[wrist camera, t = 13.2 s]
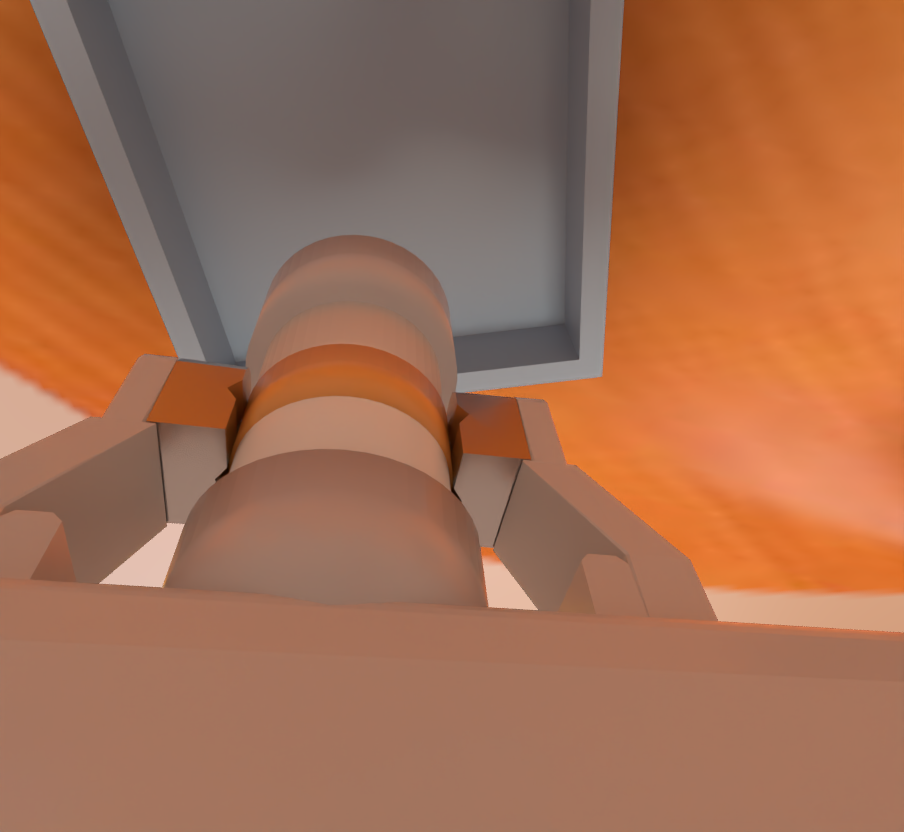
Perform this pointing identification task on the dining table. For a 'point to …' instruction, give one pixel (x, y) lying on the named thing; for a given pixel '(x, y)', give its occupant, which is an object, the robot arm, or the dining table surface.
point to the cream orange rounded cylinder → (342, 444)
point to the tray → (361, 157)
